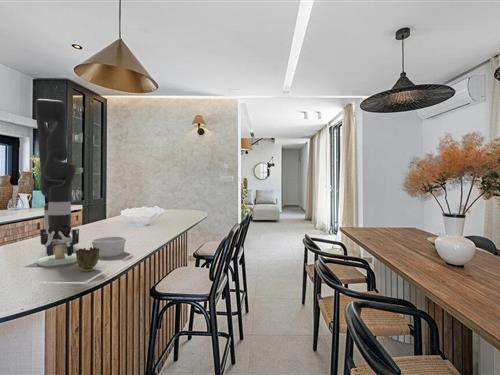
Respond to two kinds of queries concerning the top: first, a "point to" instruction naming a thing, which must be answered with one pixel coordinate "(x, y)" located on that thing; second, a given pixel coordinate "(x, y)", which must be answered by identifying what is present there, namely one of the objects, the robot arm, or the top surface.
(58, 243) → the robot arm
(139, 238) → the top surface
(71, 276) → the top surface
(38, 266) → the mat
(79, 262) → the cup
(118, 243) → the ramekin
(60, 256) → the lid
